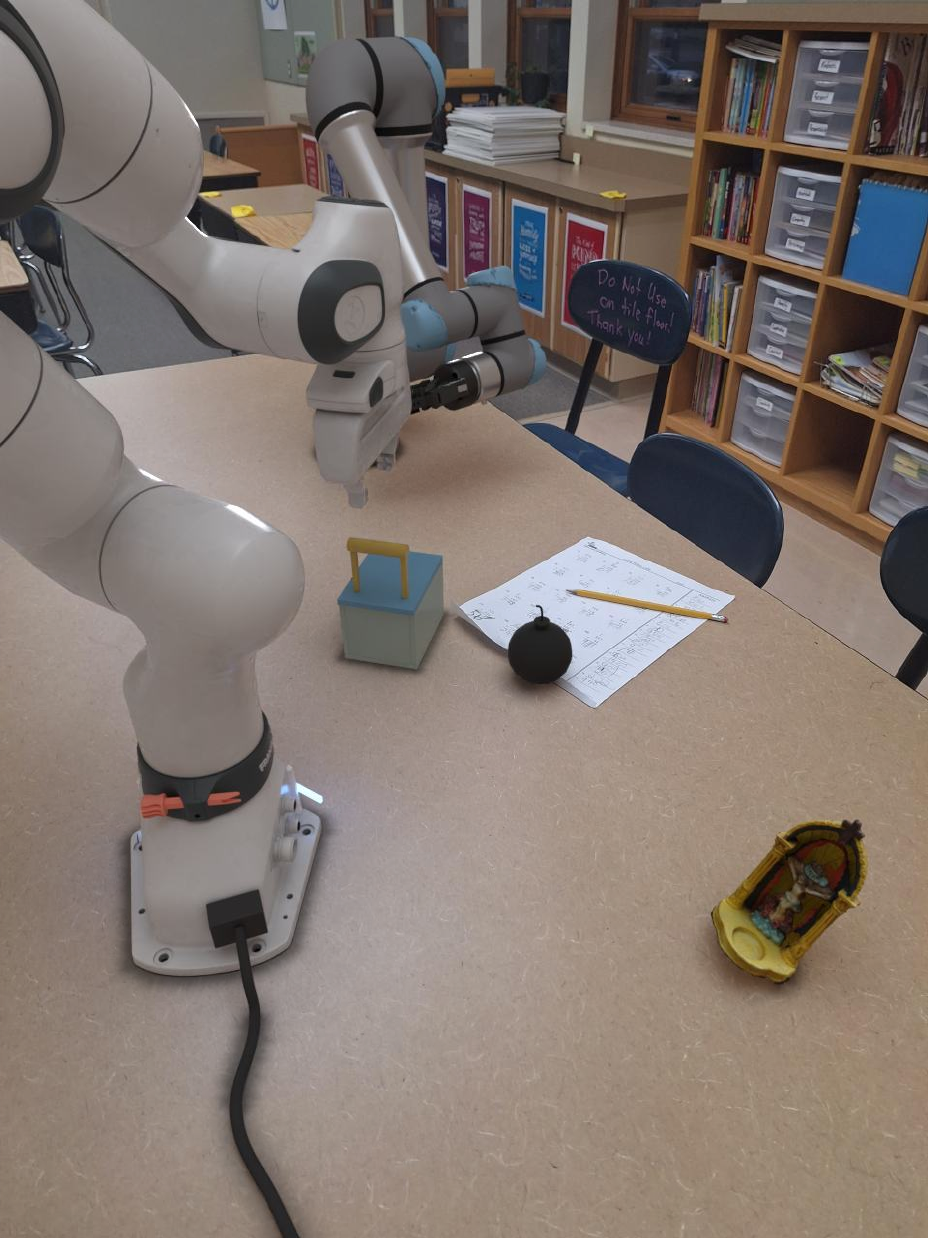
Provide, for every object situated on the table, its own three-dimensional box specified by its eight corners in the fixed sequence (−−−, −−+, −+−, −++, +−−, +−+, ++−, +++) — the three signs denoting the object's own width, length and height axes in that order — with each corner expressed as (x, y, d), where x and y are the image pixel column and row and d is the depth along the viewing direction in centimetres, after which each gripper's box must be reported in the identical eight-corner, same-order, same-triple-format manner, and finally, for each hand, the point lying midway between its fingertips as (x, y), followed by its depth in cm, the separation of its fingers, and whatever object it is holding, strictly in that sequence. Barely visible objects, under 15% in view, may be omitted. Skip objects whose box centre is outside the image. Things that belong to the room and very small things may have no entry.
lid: (413, 616, 104) (410, 557, 99) (337, 604, 106) (331, 546, 101) (442, 560, 114) (441, 505, 109) (373, 551, 116) (368, 496, 111)
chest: (416, 670, 109) (414, 614, 104) (344, 658, 111) (338, 603, 106) (443, 614, 119) (442, 560, 114) (377, 604, 121) (373, 551, 116)
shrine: (791, 892, 81) (830, 781, 73) (851, 966, 75) (901, 853, 66) (686, 929, 78) (714, 817, 69) (739, 1009, 72) (776, 896, 63)
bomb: (524, 651, 112) (528, 573, 105) (580, 670, 109) (588, 591, 102) (495, 684, 106) (497, 604, 99) (553, 706, 103) (559, 625, 96)
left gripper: (369, 333, 98) (377, 446, 106) (297, 397, 82) (312, 524, 90) (422, 337, 97) (426, 451, 105) (360, 403, 81) (369, 532, 89)
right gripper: (521, 400, 129) (409, 439, 118) (426, 409, 149) (322, 443, 138) (510, 349, 127) (394, 384, 116) (415, 365, 146) (309, 397, 135)
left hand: (373, 486), depth 98 cm, fingers open, 8 cm apart
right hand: (355, 416), depth 127 cm, fingers open, 13 cm apart
